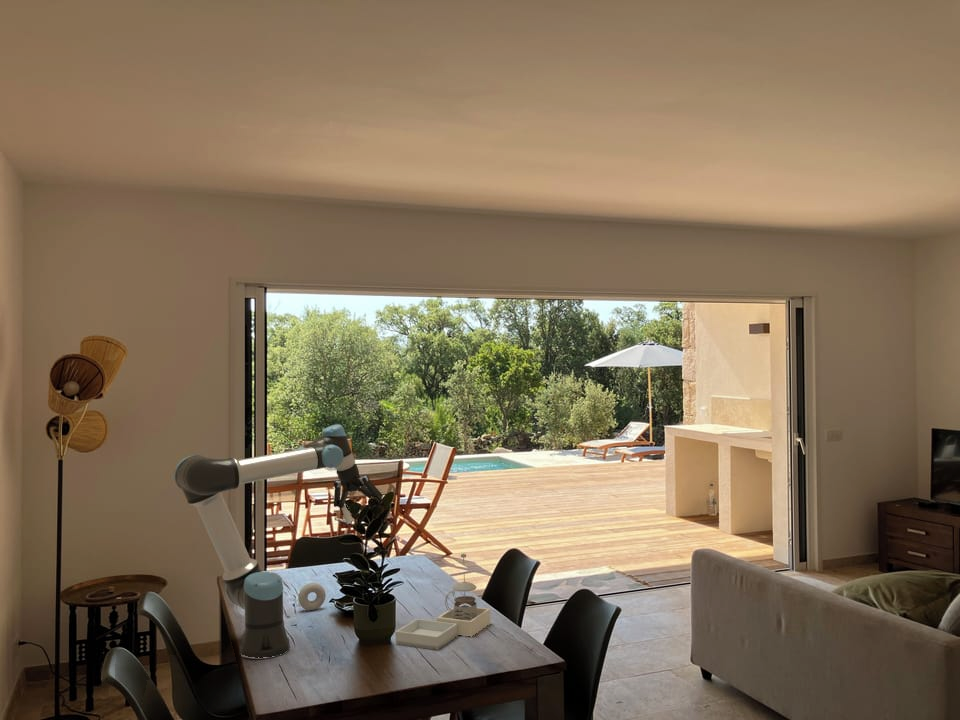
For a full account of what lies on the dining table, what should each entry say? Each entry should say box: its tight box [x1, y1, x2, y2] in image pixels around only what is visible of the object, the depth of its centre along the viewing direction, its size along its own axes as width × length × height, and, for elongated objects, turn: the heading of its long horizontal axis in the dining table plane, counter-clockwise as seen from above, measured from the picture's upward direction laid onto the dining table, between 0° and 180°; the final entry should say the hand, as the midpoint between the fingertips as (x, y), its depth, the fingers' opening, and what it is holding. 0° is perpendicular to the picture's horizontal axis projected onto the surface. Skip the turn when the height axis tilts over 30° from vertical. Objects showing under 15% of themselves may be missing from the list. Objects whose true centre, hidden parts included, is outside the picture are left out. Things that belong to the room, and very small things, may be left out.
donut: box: [297, 582, 326, 611], centre depth 281 cm, size 10×4×10 cm, turn 114°
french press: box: [444, 552, 478, 621], centre depth 256 cm, size 10×12×25 cm
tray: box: [394, 618, 458, 651], centre depth 245 cm, size 14×15×4 cm
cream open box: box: [436, 605, 491, 638], centre depth 255 cm, size 15×13×5 cm
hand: (365, 520), depth 276 cm, fingers open, 13 cm apart
